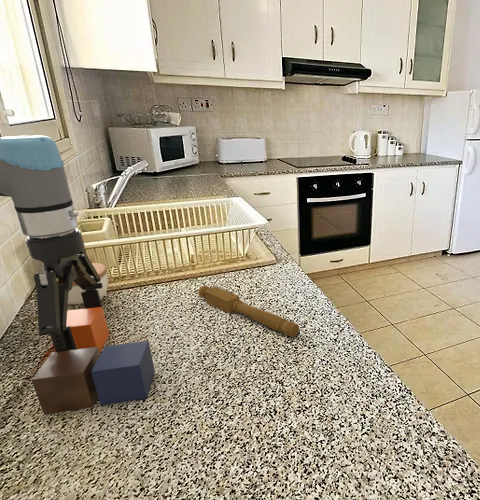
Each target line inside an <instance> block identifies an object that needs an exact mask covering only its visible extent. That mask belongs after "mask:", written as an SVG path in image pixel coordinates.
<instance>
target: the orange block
mask: <svg viewBox="0 0 480 500" xmlns="http://www.w3.org/2000/svg"><path fill="white" fill-rule="evenodd" d="M107 323H108V322H107V319H106V316H105V311H104V308H103V306H102V307H97V308H87V309H85V308H82V309H80V308H78V309H67V321H66V327H68V326H70V329H71V332H72V335H73V339H74V342H75V345H76V348H77V349H85V348H93V347H98V348H99V352H102V350H103V348H104V347H105V346H104V345H105V344H106V342H107V340H108V338H109V337H110V332H109V327H108V324H107ZM51 342H52V341H51ZM52 346H53V348H54V345H53V342H52ZM54 352H56V351H55V348H54Z"/></svg>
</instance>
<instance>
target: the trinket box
mask: <svg viewBox="0 0 480 500" xmlns="http://www.w3.org/2000/svg"><path fill="white" fill-rule="evenodd" d="M91 263H92V264H93V266H94V268H95V270H96V271H97V273H98V275H99V276H100V279H101V280H100V282H97V283H102V288H101V289H96V290H98V293H99V297H100V300H101V301H103V300H102V299H103V298H104V296H105V295H106V294H107V292H108V288H109V275H108V268H107V266H106V265H105V264H103V263H99V262H91ZM91 277H93V276H91ZM83 291H86V290H83V289H81V288H80V287H79V286H78V285H77V284H76V283H75V282H74V281H73V283H72V289H71V290H70V291H69V292H68V305H73V306H74V305H81V306H80V308H79V309H85V306H84V302H83V299H82V295H81V293H82V292H83Z"/></svg>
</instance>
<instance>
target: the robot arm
mask: <svg viewBox="0 0 480 500" xmlns="http://www.w3.org/2000/svg"><path fill="white" fill-rule="evenodd" d="M64 164H65V163H64V161H63V159H62V157H61V154H60V151H59V149H58V146H57V143H56V141H55V140H54V138H51V137H50V136H48V135H12V136H1V137H0V197H6V198H7V197H9V198H11V200H12V203H13V207H14V210H15V213H16V216H17V220H18V223H19V226H20V230H21V232H22V234H23V235H24V236H26V238H25V244H26V247H27V249H28V253H29V256H30V257H31V259H33V260H36V261H39V262H41V263H43V270H44V272H36V273H34V274H33V279H34V284H35V288H36V304H37V305H36V307H37V323H38V324H37V326H38V327H37V328H38V329H37V330H38V335H39V336H48V335H49V336H50V339H51V342H53V343H52V346H53V345H54V346H53V348H55V349H54V352H55V351H56V352H60V351H69V350H77V348H76V345H75V342H74V339H73V335H72V332H71V329H70V326H68V327H66V321H67V310H68V305H69V304H68V292H69V291H70V290H71V289H72V283H73V281H74V282H75V283H76V284H77V285H78V286H79V287H80V288H81V289H83V290H86V291H83V292H82V293H81V295H82V299H83V302H84V303H83V304H84V306H85V308H84V309H87V308H97V307H103V304H102V300H100V297H99V293H98V290H96V289H101V288H102V283H97V282H100V280H101V279H100V276H99V275H98V273H97V271H96V270H95V268H94V266H93V264H92V263H93V262H92V261H91V260H90V257H89V256H88V254H87V251H86V247H85V243H84V239H83V234H82V231H81V229H79V228H78V227H79V221H78V216H79V212H78V210H75V207H74V202H73V198H72V196H71V191H70V187H69V183H68V180H67V176H66V171H65V167H64V166H65V165H64ZM91 276H93V277H91Z"/></svg>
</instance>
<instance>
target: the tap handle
mask: <svg viewBox="0 0 480 500" xmlns="http://www.w3.org/2000/svg"><path fill="white" fill-rule="evenodd" d="M197 290H198V291H197V294H198V296H199V297H201V298H204V300H205V302H206V304H208V305H209V306H212V307H214V308H217V309H219V310H221V311H223V312H226V313H229V314H230V313H234V312H235V313H238V314H239V313H240V314H242V315H244V316H246V317H248V318H250V319H252V320H255V321H256V322H258V323H260V324H261V325H264V326H266V327H268V328H270V329H272V330H274V331H277V332H278V333H283V334H284V335H285V336H289V337H290V338H295V337H296V336H297V335H298V334H299V332H300V325H299V324H298V323H296V322H294V321H290V320H287V319H286V318H283V317H282V316H279V315H277V314H274V313H271V312H270V311H265V310H263V309H260V308H258V307H256V306H252V305H249V304H247V303H244V301H243V300H241V299H240V297H239V295H238V294H236V293H234V292H231V291H228V290H226V289H223V288H221V287H218V286H213V287H209V286H207V285H202V286H200V287H199V288H198V289H197Z"/></svg>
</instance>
